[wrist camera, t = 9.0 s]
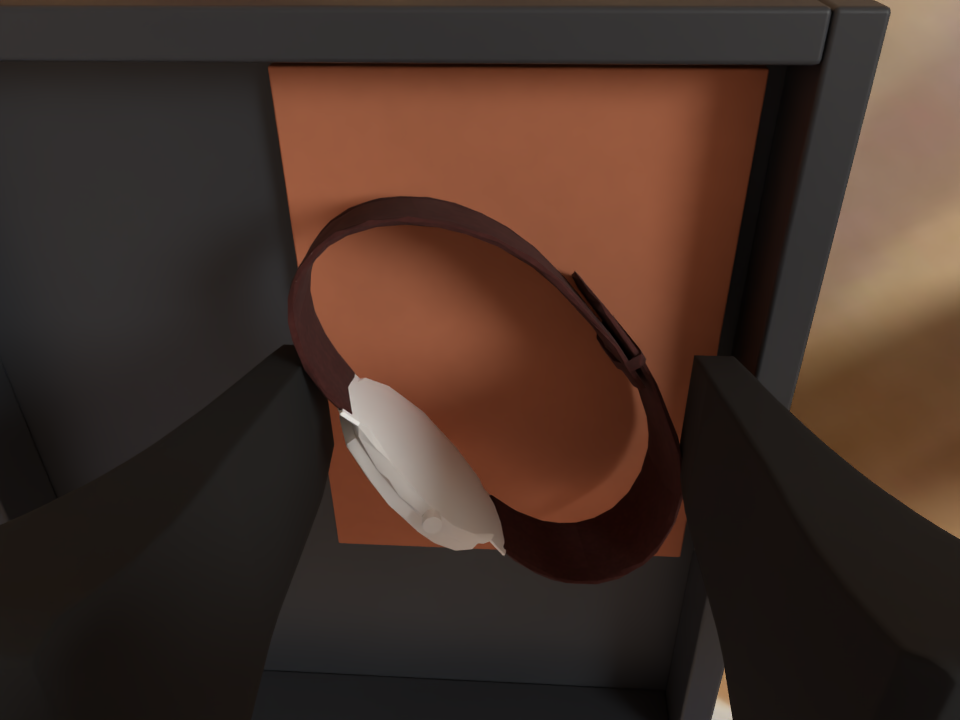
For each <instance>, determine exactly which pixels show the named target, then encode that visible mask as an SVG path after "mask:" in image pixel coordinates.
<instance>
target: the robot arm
mask: <svg viewBox="0 0 960 720" xmlns="http://www.w3.org/2000/svg"><path fill="white" fill-rule="evenodd" d="M333 449H334V438H333V431H332V424H331V416H330V409H329V402H328V399H327V398H326V397H325V396H324V395H323V394H322V393H321V391H320V390H319V389H318V387H317V386H316V384H315V383H314V382H313V380H312V379H311V378H310V376H309V375H308V374H307V372H306V371H305V370H304V368H303V365H302V363H301V361H300V358H299V356H298V353H297V351H296V349H295V346H294V345H288V344H284V345H282V346H281V347H279V348H278V349H277V350H275V351H274V352H273V353H271V354H270V355H269V356H268V357H266V358H265V359H264V360H263V361H262V362H260V363H259V364H258V365H257V366H255V367H254V368H253V369H252V370H251V371H249V372H248V373H247V374H246V375H244V376H243V377H242V378H241V379H240V380H238V381H237V382H236V383H235V384H233V385H232V386H231V387H230V388H228V389H227V390H226V391H225V392H223V393H222V394H221V395H220V396H218V397H217V398H216V399H215V400H213V401H212V402H211V403H210V404H208V405H207V406H206V407H204V408H203V409H202V410H200V411H199V412H198V413H196V414H195V415H193V416H192V417H191V418H189V419H188V420H186V421H185V422H184V423H182V424H181V425H179V426H178V427H177V428H175V429H174V430H173V431H171V432H170V433H168V434H167V435H166V436H164V437H163V438H161V439H160V440H159V441H157V442H156V443H154V444H153V445H151V446H150V447H148V448H147V449H145V450H143V451H142V452H140V453H139V454H137V455H136V456H134V457H132V458H131V459H129V460H127V461H126V462H124V463H122V464H121V465H119V466H117V467H115V468H114V469H112V470H110V471H109V472H107V473H105V474H104V475H102V476H100V477H98V478H96V479H95V480H93V481H91V482H89V483H87V484H85V485H83V486H81V487H79V488H77V489H75V490H73V491H71V492H69V493H67V494H65V495H63V496H61V497H59V498H57V499H55V500H53V501H51V502H49V503H47V504H45V505H43V506H41V507H39V508H37V509H35V510H33V511H31V512H29V513H26V514H24V515H22V516H20V517H17V518H15V519H13V520H10V521H8V522H6V523H4V524H1V525H0V720H251V718H252V714H253V710H254V706H255V701H256V697H257V693H258V689H259V685H260V681H261V677H262V673H263V670H264V666H265V662H266V658H267V654H268V650H269V646H270V642H271V638H272V635H273V632H274V629H275V626H276V623H277V619H278V616H279V613H280V610H281V608H282V605H283V602H284V600H285V597H286V594H287V592H288V589H289V586H290V584H291V581H292V578H293V576H294V573H295V571H296V568H297V565H298V563H299V560H300V557H301V555H302V552H303V549H304V547H305V544H306V541H307V539H308V536H309V533H310V531H311V528H312V525H313V523H314V520H315V517H316V514H317V512H318V509H319V506H320V503H321V500H322V498H323V494H324V490H325V485H326V481H327V477H328V473H329V468H330V463H331V458H332V454H333ZM680 449H681V454H682V464H681V472H680V480H681V488H682V495H683V503H684V510H685V514H686V518H687V522H688V526H689V529H690V533H691V537H692V541H693V544H694V548H695V552H696V556H697V559H698V563H699V567H700V570H701V574H702V578H703V581H704V585H705V589H706V592H707V596H708V600H709V603H710V607H711V611H712V614H713V618H714V622H715V625H716V629H717V633H718V638H719V642H720V647H721V651H722V656H723V661H724V667H725V674H726V680H727V686H728V693H729V699H730V705H731V711H732V718H733V720H960V539H959V538H957V537H955V536H953V535H952V534H950V533H948V532H947V531H945V530H943V529H942V528H940V527H938V526H936V525H935V524H933V523H932V522H930V521H929V520H927V519H925V518H924V517H922V516H921V515H919V514H918V513H916V512H915V511H913V510H912V509H910V508H909V507H907V506H906V505H904V504H903V503H902V502H900V501H899V500H897V499H896V498H894V497H893V496H891V495H890V494H889V493H887V492H886V491H884V490H883V489H881V488H880V487H879V486H877V485H876V484H874V483H873V482H872V481H870V480H869V479H868V478H867V477H865V476H864V475H863V474H861V473H860V472H859V471H857V470H856V469H855V468H854V467H853V466H851V465H850V464H849V463H848V462H846V461H845V460H844V459H843V458H842V457H840V456H839V455H838V454H837V453H835V452H834V451H833V450H832V449H831V448H829V447H828V446H827V445H826V444H825V443H824V442H823V441H821V440H820V439H819V438H818V437H817V436H816V435H815V434H813V433H812V432H811V431H810V430H809V429H808V428H807V427H806V426H805V425H804V424H802V423H801V422H800V421H799V420H798V419H797V418H796V417H795V416H794V415H793V414H792V413H791V412H790V411H789V410H788V409H787V408H786V407H785V406H784V405H782V404H781V403H780V402H779V401H778V400H777V399H776V398H775V397H774V396H773V395H772V394H771V393H770V392H769V391H768V390H767V389H766V388H765V387H764V386H763V385H762V384H761V383H760V382H759V381H758V380H757V379H756V378H755V377H754V376H753V375H752V374H751V373H750V372H749V371H748V370H747V369H746V368H745V367H744V366H743V365H742V364H741V363H740V362H739V361H738V360H737V359H736V358H735V357H734V356H704V355H694V359H693V365H692V372H691V378H690V384H689V390H688V396H687V402H686V408H685V414H684V420H683V426H682V433H681V439H680Z"/></svg>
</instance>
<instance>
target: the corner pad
mask: <svg viewBox="0 0 960 720" xmlns="http://www.w3.org/2000/svg"><path fill="white" fill-rule="evenodd" d="M268 72H269V79H270V86H271V92H272V99H273V106H274V112H275V119H276V126H277V132H278V139H279V146H280V152H281V159H282V166H283V173H284V179H285V186H286V193H287V199H288V206H289V213H290V219H291V226H292V233H293V239H294V246H295V253H296V259H297V266H298V267H299V265H300V264H301V262H302V261H303V259H304V257H305V255H306V254H307V252H308V250H309V248H310V246H311V244H312V243H313V241H314V240H315V239H316V237H317V236H318V234H319V233H320V231H321V230H322V229H323V228H324V227H325V226H326V225H327V224H328V222H329V221H330V220H332V219H333V218H335V217H336V216H338V215H339V214H341V213H342V212H344V211H345V210H347V209H348V208H350V207H353V206H356V205H358V204H361V203H364V202H367V201H370V200H374V199H378V198H384V197H396V196H413V197H431V198H435V199H440V200H445V201H449V202H454V203H457V204H460V205H462V206H465V207H467V208H470V209H472V210H475V211H478V212H480V213H483V214H484V215H486V216H488V217H490V218H492V219H494V220H496V221H498V222H500V223H501V224H503V225H505V226H507V227H509V228H510V229H511V230H513V231H514V232H515V233H517V234H518V235H519V236H521V237H522V238H523V239H525V240H526V241H527V242H529V243H530V244H532V245H533V246H534V247H535V248H536V249H537V250H538V251H539V252H540V253H541V254H542V255H543V256H544V257H545V258H546V259H547V260H548V261H549V262H550V263H551V264H552V265H553V266H554V267H555V268H556V269H557V270H558V271H559V272H560V273H561V274H562V275H563V276H564V277H565V278H566V279H567V281H568V282H569V283H570V284H571V286H572V287H573V288H574V289H575V290H576V292H577V293H578V294H579V295H580V296H581V298H582V299H583V300H584V302H585V303H586V304H587V305H588V307H589V308H590V309H591V310H592V312H593V313H594V314H595V315H596V317H597V318H598V319H599V321H600V322H602V319H601V318H600V317H599V315H598V314H597V313H596V311H595V310H594V309H593V307H592V306H591V305H590V303H589V302H588V301H587V299H586V298H585V297H584V295H583V294H582V293H581V291H580V290H579V289H578V287H577V285H576V283H575V281H574V280H573V278H572V276H571V275H572V274H573V273H574V271H576V272H577V273H578V274H579V276H580V277H581V278H582V279H583V281H584V282H585V283H586V285H587V286H588V287H589V288H590V289H591V290H592V291H593V293H594V294H595V295H596V296H597V297H598V299H599V300H600V301H601V302H602V303H603V304H604V306H605V307H606V308H607V309H608V310H609V312H610V313H611V314H612V316H613V315H614V317H615V319H616V320H617V321H618V322H619V324H620V325H621V326H622V327H623V329H624V330H625V331H626V332H627V334H628V335H629V336H630V337H631V339H632V340H633V341H634V342H635V343H636V345H637V346H638V347H639V348H640V350H641V351H642V353H643V354H644V356H645V358H646V362H645V363H646V365H647V366H648V368H649V370H650V372H651V374H652V375H653V377H654V379H655V381H656V383H657V385H658V387H659V390H660V392H661V395H662V397H663V400H664V402H665V405H666V407H667V410H668V413H669V415H670V418H671V420H672V423H673V425H674V428H675V430H676V433H677V435H678V439H679V444H680V439H681V433H682V426H683V420H684V414H685V408H686V402H687V396H688V390H689V384H690V378H691V372H692V365H693V359H694V355H704V356H717V353H718V347H719V342H720V336H721V331H722V326H723V320H724V315H725V309H726V304H727V298H728V293H729V287H730V282H731V276H732V271H733V265H734V260H735V254H736V249H737V244H738V238H739V233H740V227H741V222H742V216H743V211H744V205H745V200H746V194H747V189H748V183H749V178H750V172H751V167H752V161H753V156H754V151H755V145H756V140H757V134H758V129H759V123H760V118H761V112H762V107H763V101H764V96H765V90H766V85H767V79H768V74H769V69H768V68H767V67H766V66H765V65H626V64H437V63H271V64H270V65H269V66H268ZM310 291H311V295H312V300H313V304H314V309H315V312H316V315H317V317H318V319H319V321H320V323H321V325H322V327H323V329H324V331H325V334H326V335H327V337H328V338H329V340H330V341H331V343H332V344H333V346H334V347H335V349H336V350H337V352H338V353H339V354H340V355H341V357H342V358H343V359H344V360H345V361H346V363H347V364H348V365H349V366H350V367H351V369H352V370H353V371H354V372H355V374H356V375H357V376H358V377H359V378H368V379H371V380H373V381H376V382H379V383H382V384H385V385H387V386H390V387H391V388H392V389H394V390H395V391H396V392H398V393H399V394H400V395H402V396H403V397H404V398H406V399H407V400H408V401H410V402H411V403H412V404H414V405H415V406H416V407H418V408H419V409H420V410H422V411H423V412H424V413H425V414H426V415H427V416H428V417H429V418H430V419H431V421H432V422H433V423H434V424H435V425H436V426H437V427H438V428H439V429H440V430H441V431H442V432H443V433H444V435H445V436H446V437H447V438H448V439H449V440H450V441H451V442H452V443H453V444H454V445H455V446H456V448H457V449H458V450H459V452H460V453H461V455H462V456H463V457H464V459H465V460H466V461H467V463H468V464H469V465H470V467H471V468H472V469H473V471H474V472H475V473H476V475H477V476H478V477H479V479H480V481H481V484H482V486H483V488H484V489H485V490H486V491H487V492H488V493H489V494H490V495H493V496H494V497H496V498H497V499H499V500H500V501H502V502H503V503H505V504H506V505H508V506H509V507H511V508H513V509H514V510H516V511H518V512H521V513H523V514H526V515H529V516H531V517H534V518H537V519H539V520H542V521H550V522H557V523H575V522H580V521H583V520H587V519H591V518H595V517H596V516H598V515H600V514H602V513H604V512H606V511H608V510H610V509H611V508H613V507H614V506H615V505H616V504H617V503H618V502H619V501H620V500H621V499H622V498H623V497H624V496H625V495H626V494H627V493H628V492H629V490H630V489H631V487H632V485H633V484H634V482H635V480H636V478H637V477H638V475H639V473H640V471H641V469H642V465H643V462H644V458H645V455H646V452H647V448H648V434H649V433H648V424H647V416H646V413H645V410H644V407H643V404H642V401H641V398H640V394H639V391H638V388H636V387H634V386H633V385H632V384H631V382H630V381H629V379H628V378H627V377H626V375H625V374H624V373H623V371H622V370H620V369H617V368H616V366H615V365H614V364H613V362H612V361H611V359H610V358H609V357H608V355H607V354H606V353H605V351H604V350H603V349H602V347H601V346H600V344H599V342H598V340H597V338H596V337H597V333H596V331H595V330H594V329H593V327H592V326H591V325H590V324H589V323H588V322H587V320H586V319H585V318H584V317H583V316H582V315H581V314H580V313H579V312H578V311H577V310H576V308H575V307H574V306H573V305H572V304H571V303H570V302H569V301H568V300H567V299H566V298H565V296H564V295H563V294H562V293H561V292H560V291H559V290H558V289H557V288H556V287H555V286H554V285H553V284H551V283H550V282H549V281H548V280H547V279H546V278H545V277H543V276H542V275H541V274H540V273H539V272H537V271H536V270H535V269H534V268H532V267H531V266H529V265H528V264H526V263H524V262H523V261H521V260H519V259H518V258H516V257H514V256H513V255H511V254H509V253H508V252H506V251H504V250H503V249H501V248H499V247H498V246H495V245H492V244H490V243H487V242H485V241H482V240H479V239H477V238H474V237H472V236H469V235H466V234H463V233H459V232H454V231H450V230H446V229H442V228H438V227H425V226H413V225H396V226H384V227H375V228H372V229H368V230H365V231H362V232H358V233H355V234H351V235H348V236H346V237H344V238H343V239H341V240H339V241H337V242H336V243H334V244H332V245H330V246H329V247H328V248H327V249H326V250H325V251H324V252H323V253H322V254H321V255H320V256H319V257H318V258H317V259H316V260H315V262H314V263H313V267H312V271H311V290H310ZM608 332H609V333H610V331H609V330H608ZM610 334H611V333H610ZM328 402H329V409H330V416H331V424H332V431H333V438H334V449H333V454H332V458H331V463H330V468H329V480H330V487H331V493H332V500H333V507H334V513H335V520H336V527H337V534H338V540H339V543H350V544H374V545H399V546H423V547H444V546H441V545H438V544H435V543H434V542H432V541H431V540H429V539H428V538H426V537H425V536H423V535H422V534H420V533H419V532H418V531H417V530H416V529H414V528H413V527H412V526H411V525H410V524H409V523H408V522H407V521H406V520H405V519H404V518H402V517H401V516H400V515H399V514H398V513H397V512H396V511H395V510H394V509H393V508H391V507H390V506H389V505H388V503H387V502H386V501H385V500H384V498H383V497H382V496H381V495H380V493H379V492H378V491H377V490H376V488H375V487H374V486H373V485H372V483H371V482H370V481H369V479H368V478H367V477H366V475H365V474H364V472H363V471H362V469H361V468H360V466H359V465H358V463H357V462H356V460H355V458H354V457H353V455H352V454H351V452H350V451H349V449H348V448H347V446H346V443H345V439H344V435H343V431H342V427H341V423H340V418H339V411H338V409H337V407H335V406H334V405H333V404H332V403H331V402H330V401H329V400H328ZM686 522H687V518H686V514H685V510H684V503H683V500H682V503H681V506H680V510H679V513H678V516H677V519H676V522H675V524H674V526H673V528H672V530H671V532H670V533H669V535H668V536H667V538H666V540H665V541H664V543H663V544H662V546H661V547H660V549H659V550H658V552H657V553H656V554H655V555H654V556H667V557H680V555H681V550H682V544H683V539H684V533H685V528H686ZM473 549H496V548H495V547H494V546H493V545H492V544H491V542H490V541H489V542H487V543H484V544H480V543H478V544H477V545H476V546H475V547H474V548H473ZM496 550H497V549H496Z"/></svg>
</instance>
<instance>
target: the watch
mask: <svg viewBox="0 0 960 720" xmlns="http://www.w3.org/2000/svg"><path fill="white" fill-rule="evenodd" d="M396 225H413V226H425V227H438V228H442V229H446V230H450V231H454V232H459V233H463V234H466V235H469V236H472V237H474V238H477V239H479V240H482V241H485V242H487V243H490V244H492V245H495V246H498V247H499V248H501V249H503V250H504V251H506V252H508V253H509V254H511V255H513V256H514V257H516V258H518V259H519V260H521V261H523V262H524V263H526V264H528V265H529V266H531V267H532V268H534V269H535V270H536V271H537V272H539V273H540V274H541V275H542V276H543V277H545V278H546V279H547V280H548V281H549V282H550V283H551V284H553V285H554V286H555V287H556V288H557V289H558V290H559V291H560V292H561V293H562V294H563V295H564V296H565V298H566V299H567V300H568V301H569V302H570V303H571V304H572V305H573V306H574V307H575V308H576V310H577V311H578V312H579V313H580V314H581V315H582V316H583V317H584V318H585V319H586V320H587V322H588V323H589V324H590V325H591V326H592V327H593V329H594V330H595V331H596V333H597V337H596V338H597V340H598V342H599V344H600V346H601V347H602V349H603V350H604V351H605V353H606V354H607V355H608V357H609V358H610V359H611V361H612V362H613V364H614V365H615V366H616V368H617V369H620V370H622V371H623V373H624V374H625V375H626V377H627V378H628V379H629V381H630V382H631V384H632V385H633V386H634V387H636V388H638V391H639V394H640V398H641V401H642V404H643V407H644V410H645V413H646V416H647V424H648V433H649V434H648V448H647V452H646V455H645V458H644V462H643V465H642V469H641V471H640V473H639V475H638V477H637V478H636V480H635V482H634V484H633V485H632V487H631V489H630V490H629V492H628V493H627V494H626V495H625V496H624V497H623V498H622V499H621V500H620V501H619V502H618V503H617V504H616V505H615V506H614V507H613V508H611V509H610V510H608V511H606V512H604V513H602V514H600V515H598V516H596V517H595V518H591V519H587V520H583V521H580V522H575V523H557V522H550V521H542V520H539V519H537V518H534V517H531V516H529V515H526V514H523V513H521V512H518V511H516V510H514V509H513V508H511V507H509V506H508V505H506V504H505V503H503V502H502V501H500V500H499V499H497V498H496V497H494V496H493V495H490V494H489V493H488V492H487V491H486V490H485V489H484V488H483V486H482V484H481V481H480V479H479V477H478V476H477V475H476V473H475V472H474V471H473V469H472V468H471V467H470V465H469V464H468V463H467V461H466V460H465V459H464V457H463V456H462V455H461V453H460V452H459V450H458V449H457V448H456V446H455V445H454V444H453V443H452V442H451V441H450V440H449V439H448V438H447V437H446V436H445V435H444V433H443V432H442V431H441V430H440V429H439V428H438V427H437V426H436V425H435V424H434V423H433V422H432V421H431V419H430V418H429V417H428V416H427V415H426V414H425V413H424V412H423V411H422V410H420V409H419V408H418V407H416V406H415V405H414V404H412V403H411V402H410V401H408V400H407V399H406V398H404V397H403V396H402V395H400V394H399V393H398V392H396V391H395V390H394V389H392V388H391V387H390V386H387V385H385V384H382V383H379V382H376V381H373V380H371V379H368V378H359V377H358V376H357V375H356V374H355V372H354V371H353V370H352V369H351V367H350V366H349V365H348V364H347V363H346V361H345V360H344V359H343V358H342V357H341V355H340V354H339V353H338V352H337V350H336V349H335V347H334V346H333V344H332V343H331V341H330V340H329V338H328V337H327V335H326V334H325V331H324V329H323V327H322V325H321V323H320V321H319V319H318V317H317V315H316V312H315V309H314V304H313V300H312V295H311V291H310V290H311V271H312V267H313V263H314V262H315V260H316V259H317V258H318V257H319V256H320V255H321V254H322V253H323V252H324V251H325V250H326V249H327V248H328V247H329V246H330V245H332V244H334V243H336V242H337V241H339V240H341V239H343V238H344V237H346V236H348V235H351V234H355V233H358V232H362V231H365V230H368V229H372V228H375V227H384V226H396ZM571 276H572V278H573V280H574V281H575V283H576V285H577V287H578V289H579V290H580V291H581V293H582V294H583V295H584V297H585V298H586V299H587V301H588V302H589V303H590V305H591V306H592V307H593V309H594V310H595V311H596V313H597V314H598V315H599V317H600V318H601V319H602V322H600V321H599V319H598V318H597V317H596V315H595V314H594V313H593V312H592V310H591V309H590V308H589V307H588V305H587V304H586V303H585V302H584V300H583V299H582V298H581V296H580V295H579V294H578V293H577V292H576V290H575V289H574V288H573V287H572V286H571V284H570V283H569V282H568V281H567V279H566V278H565V277H564V276H563V275H562V274H561V273H560V272H559V271H558V270H557V269H556V268H555V267H554V266H553V265H552V264H551V263H550V262H549V261H548V260H547V259H546V258H545V257H544V256H543V255H542V254H541V253H540V252H539V251H538V250H537V249H536V248H535V247H534V246H533V245H532V244H530V243H529V242H527V241H526V240H525V239H523V238H522V237H521V236H519V235H518V234H517V233H515V232H514V231H513V230H511V229H510V228H509V227H507V226H505V225H503V224H501V223H500V222H498V221H496V220H494V219H492V218H490V217H488V216H486V215H484V214H483V213H480V212H478V211H475V210H472V209H470V208H467V207H465V206H462V205H460V204H457V203H454V202H449V201H445V200H440V199H435V198H431V197H413V196H396V197H384V198H378V199H374V200H370V201H367V202H364V203H361V204H358V205H356V206H353V207H350V208H348V209H347V210H345V211H344V212H342V213H341V214H339V215H338V216H336V217H335V218H333V219H332V220H330V221H329V222H328V224H327V225H326V226H325V227H324V228H323V229H322V230H321V231H320V233H319V234H318V236H317V237H316V239H315V240H314V241H313V243H312V244H311V246H310V248H309V250H308V252H307V254H306V255H305V257H304V259H303V261H302V262H301V264H300V265H299V267H298V269H297V271H296V274H295V276H294V278H293V280H292V282H291V287H290V291H289V295H288V325H289V329H290V334H291V338H292V341H293V344H294V346H295V349H296V351H297V353H298V356H299V358H300V361H301V363H302V365H303V368H304V370H305V371H306V372H307V374H308V375H309V376H310V378H311V379H312V380H313V382H314V383H315V384H316V386H317V387H318V389H319V390H320V391H321V393H322V394H323V395H324V396H325V397H326V398H327V399H328V400H329V401H330V402H331V403H332V404H333V405H334V406H335V407H337V409H338V411H339V418H340V423H341V427H342V431H343V435H344V439H345V443H346V446H347V448H348V449H349V451H350V452H351V454H352V455H353V457H354V458H355V460H356V462H357V463H358V465H359V466H360V468H361V469H362V471H363V472H364V474H365V475H366V477H367V478H368V479H369V481H370V482H371V483H372V485H373V486H374V487H375V488H376V490H377V491H378V492H379V493H380V495H381V496H382V497H383V498H384V500H385V501H386V502H387V503H388V505H389V506H390V507H391V508H393V509H394V510H395V511H396V512H397V513H398V514H399V515H400V516H401V517H402V518H404V519H405V520H406V521H407V522H408V523H409V524H410V525H411V526H412V527H413V528H414V529H416V530H417V531H418V532H419V533H420V534H422V535H423V536H425V537H426V538H428V539H429V540H431V541H432V542H434V543H435V544H438V545H441V546H444V547H447V548H449V549H452V550H455V551H458V550H469V549H473V548H474V547H475V546H476V545H477V544H478V543H480V544H484V543H487V542H489V541H490V542H491V544H492V545H493V546H494V547H495V548H496V549H497V550H498V551H499V552H500V553H501V554H502V555H505V554H506V555H508V556H509V557H510V558H511V559H513V560H514V561H515V562H517V563H519V564H520V565H522V566H524V567H525V568H527V569H529V570H530V571H532V572H534V573H536V574H538V575H541V576H543V577H546V578H548V579H551V580H554V581H558V582H563V583H569V584H600V583H604V582H608V581H612V580H616V579H620V578H621V577H623V576H625V575H627V574H629V573H630V572H632V571H634V570H636V569H637V568H639V567H641V566H643V565H644V564H645V563H646V562H647V561H648V560H650V559H651V558H652V557H653V556H654V555H655V554H656V553H657V552H658V550H659V549H660V547H661V546H662V544H663V543H664V541H665V540H666V538H667V536H668V535H669V533H670V532H671V530H672V528H673V526H674V524H675V522H676V519H677V516H678V513H679V510H680V506H681V503H682V500H683V495H682V488H681V480H680V472H681V464H682V454H681V449H680V444H679V439H678V435H677V433H676V430H675V428H674V425H673V423H672V420H671V418H670V415H669V413H668V410H667V407H666V405H665V402H664V400H663V397H662V395H661V392H660V390H659V387H658V385H657V383H656V381H655V379H654V377H653V375H652V374H651V372H650V370H649V368H648V366H647V365H646V363H645V362H646V358H645V356H644V354H643V353H642V351H641V350H640V348H639V347H638V346H637V345H636V343H635V342H634V341H633V340H632V339H631V337H630V336H629V335H628V334H627V332H626V331H625V330H624V329H623V327H622V326H621V325H620V324H619V322H618V321H617V320H616V319H615V317H614V315H613V316H612V314H611V313H610V312H609V310H608V309H607V308H606V307H605V306H604V304H603V303H602V302H601V301H600V300H599V299H598V297H597V296H596V295H595V294H594V293H593V291H592V290H591V289H590V288H589V287H588V286H587V285H586V283H585V282H584V281H583V279H582V278H581V277H580V276H579V274H578V273H577V272H576V271H574V273H573V274H572V275H571ZM608 330H609V331H610V333H611V334H610V333H609V332H608Z"/></svg>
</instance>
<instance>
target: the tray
mask: <svg viewBox="0 0 960 720" xmlns="http://www.w3.org/2000/svg"><path fill="white" fill-rule="evenodd" d="M890 13H891V12H890V8H889V7H887V6H885V5H883V4H881V3H879V2H877V1H875V0H0V525H1V524H4V523H6V522H8V521H10V520H13V519H15V518H17V517H20V516H22V515H24V514H26V513H29V512H31V511H33V510H35V509H37V508H39V507H41V506H43V505H45V504H47V503H49V502H51V501H53V500H55V499H57V498H59V497H61V496H63V495H65V494H67V493H69V492H71V491H73V490H75V489H77V488H79V487H81V486H83V485H85V484H87V483H89V482H91V481H93V480H95V479H96V478H98V477H100V476H102V475H104V474H105V473H107V472H109V471H110V470H112V469H114V468H115V467H117V466H119V465H121V464H122V463H124V462H126V461H127V460H129V459H131V458H132V457H134V456H136V455H137V454H139V453H140V452H142V451H143V450H145V449H147V448H148V447H150V446H151V445H153V444H154V443H156V442H157V441H159V440H160V439H161V438H163V437H164V436H166V435H167V434H168V433H170V432H171V431H173V430H174V429H175V428H177V427H178V426H179V425H181V424H182V423H184V422H185V421H186V420H188V419H189V418H191V417H192V416H193V415H195V414H196V413H198V412H199V411H200V410H202V409H203V408H204V407H206V406H207V405H208V404H210V403H211V402H212V401H213V400H215V399H216V398H217V397H218V396H220V395H221V394H222V393H223V392H225V391H226V390H227V389H228V388H230V387H231V386H232V385H233V384H235V383H236V382H237V381H238V380H240V379H241V378H242V377H243V376H244V375H246V374H247V373H248V372H249V371H251V370H252V369H253V368H254V367H255V366H257V365H258V364H259V363H260V362H262V361H263V360H264V359H265V358H266V357H268V356H269V355H270V354H271V353H273V352H274V351H275V350H277V349H278V348H279V347H281V346H282V345H284V344H288V345H294V344H293V341H292V338H291V334H290V329H289V325H288V295H289V291H290V287H291V282H292V280H293V278H294V276H295V274H296V271H297V269H298V266H297V259H296V253H295V246H294V239H293V233H292V226H291V219H290V213H289V206H288V199H287V193H286V186H285V179H284V173H283V166H282V159H281V152H280V146H279V139H278V132H277V126H276V119H275V112H274V106H273V99H272V92H271V86H270V79H269V72H268V66H269V65H270V64H271V63H437V64H626V65H765V66H766V67H767V68H768V69H769V74H768V79H767V85H766V90H765V96H764V101H763V107H762V112H761V118H760V123H759V129H758V134H757V140H756V145H755V151H754V156H753V161H752V167H751V172H750V178H749V183H748V189H747V194H746V200H745V205H744V211H743V216H742V222H741V227H740V233H739V238H738V244H737V249H736V254H735V260H734V265H733V271H732V276H731V282H730V287H729V293H728V298H727V304H726V309H725V315H724V320H723V326H722V331H721V336H720V342H719V347H718V353H717V356H734V357H735V358H736V359H737V360H738V361H739V362H740V363H741V364H742V365H743V366H744V367H745V368H746V369H747V370H748V371H749V372H750V373H751V374H752V375H753V376H754V377H755V378H756V379H757V380H758V381H759V382H760V383H761V384H762V385H763V386H764V387H765V388H766V389H767V390H768V391H769V392H770V393H771V394H772V395H773V396H774V397H775V398H776V399H777V400H778V401H779V402H780V403H781V404H782V405H784V406H785V407H786V408H787V409H788V410H789V411H790V407H791V403H792V399H793V395H794V391H795V388H796V384H797V380H798V376H799V372H800V368H801V364H802V360H803V356H804V352H805V348H806V344H807V340H808V336H809V332H810V328H811V325H812V321H813V317H814V313H815V309H816V305H817V301H818V297H819V293H820V289H821V285H822V281H823V277H824V273H825V269H826V265H827V261H828V258H829V254H830V250H831V246H832V242H833V238H834V234H835V230H836V226H837V222H838V218H839V214H840V210H841V206H842V202H843V198H844V194H845V191H846V187H847V183H848V179H849V175H850V171H851V167H852V163H853V159H854V155H855V151H856V147H857V143H858V139H859V135H860V131H861V128H862V124H863V120H864V116H865V112H866V108H867V104H868V100H869V96H870V92H871V88H872V84H873V80H874V76H875V72H876V68H877V64H878V61H879V57H880V53H881V49H882V45H883V41H884V37H885V33H886V29H887V25H888V21H889V17H890ZM723 671H724V661H723V656H722V651H721V647H720V642H719V638H718V633H717V629H716V625H715V622H714V618H713V614H712V611H711V607H710V603H709V600H708V596H707V592H706V589H705V585H704V581H703V578H702V574H701V570H700V567H699V563H698V559H697V556H696V552H695V548H694V544H693V541H692V537H691V533H690V529H689V526H688V522H686V528H685V533H684V539H683V544H682V550H681V555H680V557H667V556H653V557H652V558H651V559H650V560H648V561H647V562H646V563H645V564H644V565H643V566H641V567H639V568H637V569H636V570H634V571H632V572H630V573H629V574H627V575H625V576H623V577H621V578H620V579H616V580H612V581H608V582H604V583H600V584H569V583H563V582H558V581H554V580H551V579H548V578H546V577H543V576H541V575H538V574H536V573H534V572H532V571H530V570H529V569H527V568H525V567H524V566H522V565H520V564H519V563H517V562H515V561H514V560H513V559H511V558H510V557H509V556H508V555H506V554H505V555H502V554H501V553H500V552H499V551H498V550H496V549H469V550H458V551H455V550H452V549H449V548H447V547H423V546H399V545H374V544H350V543H339V540H338V534H337V527H336V520H335V513H334V507H333V500H332V493H331V487H330V480H329V473H328V477H327V481H326V485H325V490H324V494H323V498H322V500H321V503H320V506H319V509H318V512H317V514H316V517H315V520H314V523H313V525H312V528H311V531H310V533H309V536H308V539H307V541H306V544H305V547H304V549H303V552H302V555H301V557H300V560H299V563H298V565H297V568H296V571H295V573H294V576H293V578H292V581H291V584H290V586H289V589H288V592H287V594H286V597H285V600H284V602H283V605H282V608H281V610H280V613H279V616H278V619H277V623H276V626H275V629H274V632H273V635H272V638H271V642H270V646H269V650H268V654H267V658H266V662H265V666H264V670H263V673H262V677H261V681H260V685H259V689H258V693H257V697H256V701H255V706H254V710H253V714H252V718H251V720H711V718H712V715H713V711H714V707H715V703H716V699H717V695H718V691H719V687H720V683H721V679H722V675H723Z"/></svg>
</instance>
